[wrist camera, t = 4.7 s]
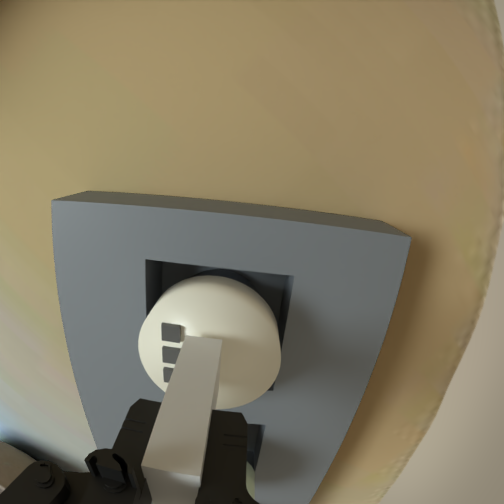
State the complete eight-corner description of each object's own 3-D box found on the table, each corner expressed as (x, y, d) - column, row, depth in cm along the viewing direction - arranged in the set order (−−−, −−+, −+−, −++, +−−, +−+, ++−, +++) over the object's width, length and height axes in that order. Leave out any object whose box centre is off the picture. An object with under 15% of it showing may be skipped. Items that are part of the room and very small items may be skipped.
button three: (165, 348, 19) (142, 400, 14) (165, 250, 17) (132, 285, 12) (267, 360, 19) (270, 417, 14) (282, 263, 17) (292, 304, 12)
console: (133, 484, 26) (125, 510, 22) (87, 191, 17) (51, 200, 13) (289, 503, 27) (291, 530, 23) (382, 221, 18) (411, 237, 14)
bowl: (150, 524, 30) (139, 575, 21) (39, 500, 33) (22, 534, 23) (36, 406, 23) (-8, 470, 14) (-51, 397, 26) (-82, 431, 16)
